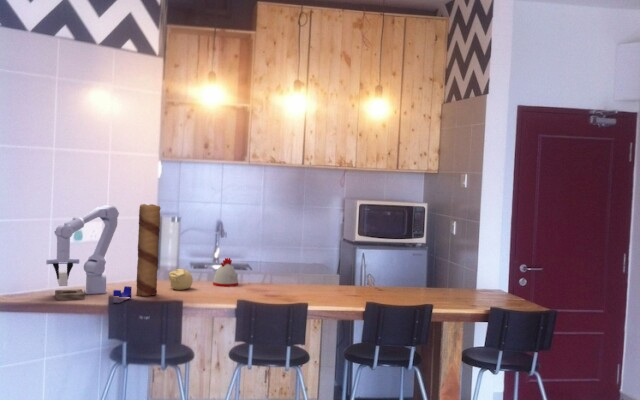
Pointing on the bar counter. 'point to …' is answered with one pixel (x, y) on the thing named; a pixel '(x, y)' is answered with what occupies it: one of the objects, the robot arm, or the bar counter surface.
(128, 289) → the cable clip
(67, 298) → the brown square tray
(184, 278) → the sculpture
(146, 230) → the wafer roll
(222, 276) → the pompom beanie hat
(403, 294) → the bar counter surface
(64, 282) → the bar
